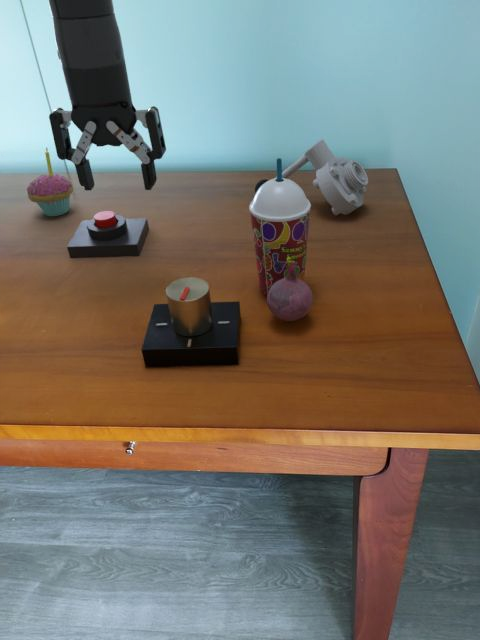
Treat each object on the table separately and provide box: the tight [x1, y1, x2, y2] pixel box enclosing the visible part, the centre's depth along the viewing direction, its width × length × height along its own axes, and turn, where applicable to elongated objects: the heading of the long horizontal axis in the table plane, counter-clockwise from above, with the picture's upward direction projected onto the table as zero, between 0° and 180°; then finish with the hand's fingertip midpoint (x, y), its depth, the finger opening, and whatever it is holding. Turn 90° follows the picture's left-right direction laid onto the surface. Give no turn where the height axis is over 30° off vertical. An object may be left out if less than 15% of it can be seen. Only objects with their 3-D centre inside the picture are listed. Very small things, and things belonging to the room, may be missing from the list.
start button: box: [93, 210, 117, 228], centre depth 91 cm, size 4×4×2 cm
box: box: [66, 213, 150, 259], centre depth 93 cm, size 12×10×4 cm
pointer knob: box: [165, 277, 213, 336], centre depth 68 cm, size 5×5×6 cm
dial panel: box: [141, 300, 242, 368], centre depth 70 cm, size 12×10×3 cm
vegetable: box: [266, 257, 314, 322], centre depth 71 cm, size 6×6×10 cm
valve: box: [254, 138, 369, 216], centre depth 101 cm, size 10×20×15 cm
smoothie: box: [248, 157, 312, 297], centre depth 74 cm, size 8×8×20 cm
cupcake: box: [26, 146, 74, 217], centre depth 101 cm, size 9×8×12 cm
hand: (119, 188), depth 74 cm, fingers open, 8 cm apart
